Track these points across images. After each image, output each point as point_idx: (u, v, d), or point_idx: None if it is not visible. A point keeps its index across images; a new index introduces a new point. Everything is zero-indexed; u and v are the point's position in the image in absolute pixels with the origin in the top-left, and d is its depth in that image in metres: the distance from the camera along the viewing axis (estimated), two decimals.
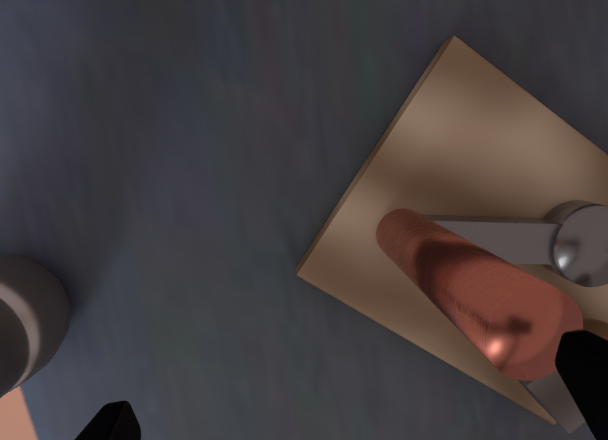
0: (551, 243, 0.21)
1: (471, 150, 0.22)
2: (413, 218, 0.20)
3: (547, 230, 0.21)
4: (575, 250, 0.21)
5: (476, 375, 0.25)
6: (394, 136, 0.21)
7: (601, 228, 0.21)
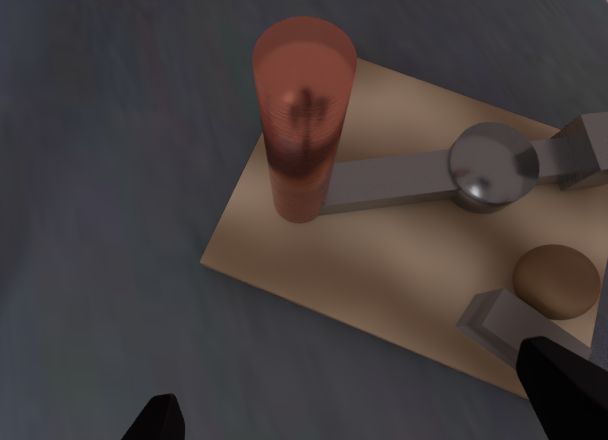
0: (447, 168, 0.21)
1: (349, 118, 0.24)
2: None
3: (437, 156, 0.21)
4: (472, 167, 0.20)
5: (440, 356, 0.20)
6: None
7: (489, 142, 0.21)
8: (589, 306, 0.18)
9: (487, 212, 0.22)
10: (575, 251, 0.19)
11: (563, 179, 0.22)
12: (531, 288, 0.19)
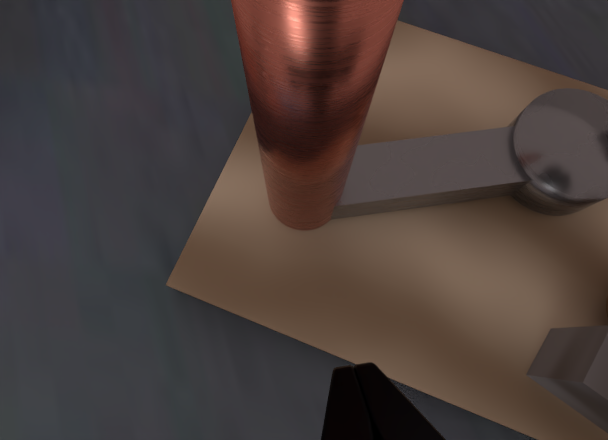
0: (510, 152, 0.15)
1: None
2: None
3: (496, 136, 0.15)
4: (547, 149, 0.14)
5: (507, 419, 0.14)
6: None
7: (568, 115, 0.15)
8: None
9: (563, 213, 0.16)
10: None
11: None
12: None
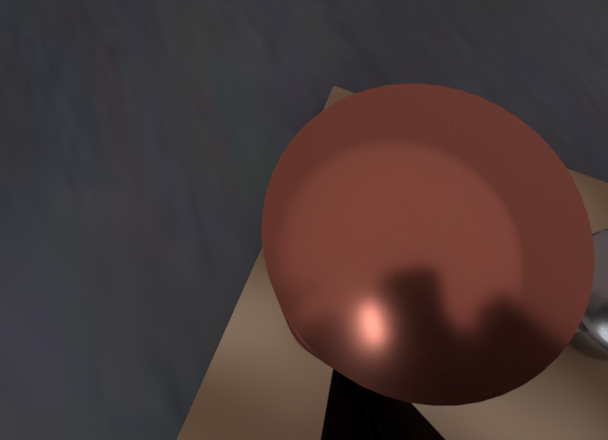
0: None
1: None
2: None
3: None
4: None
5: None
6: None
7: None
8: None
9: None
10: None
11: None
12: None
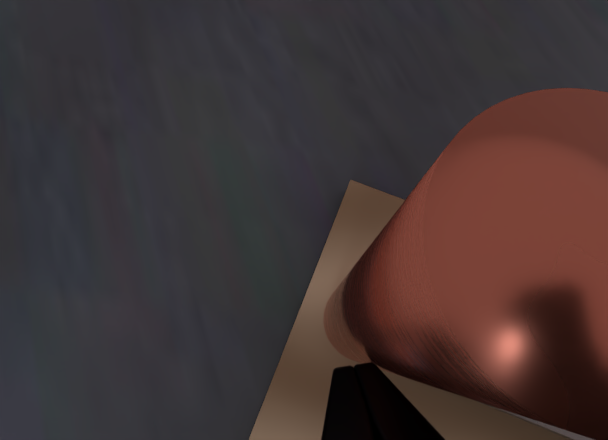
0: None
1: None
2: None
3: None
4: None
5: None
6: (304, 323, 0.14)
7: None
8: None
9: None
10: None
11: None
12: None
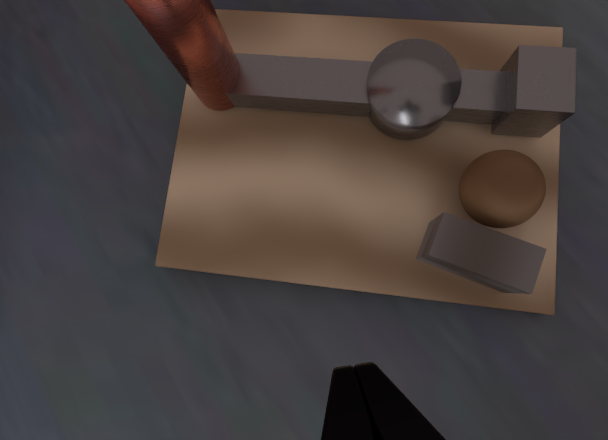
0: (363, 80, 0.20)
1: None
2: None
3: (357, 66, 0.20)
4: (386, 82, 0.19)
5: (407, 292, 0.20)
6: (188, 102, 0.23)
7: (414, 60, 0.19)
8: (536, 205, 0.17)
9: (400, 137, 0.21)
10: (511, 153, 0.18)
11: (494, 120, 0.20)
12: (474, 203, 0.18)
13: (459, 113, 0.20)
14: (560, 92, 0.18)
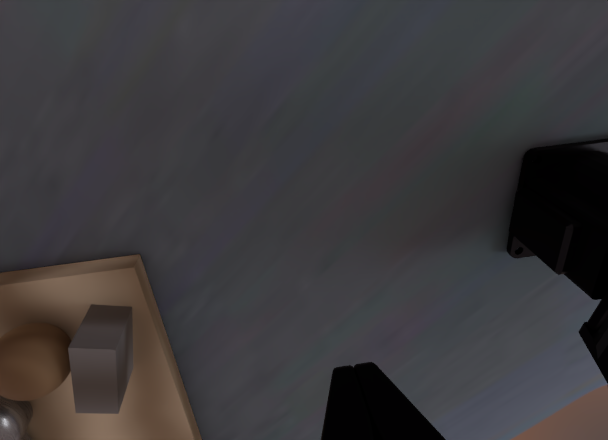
0: None
1: None
2: None
3: None
4: None
5: (164, 365, 0.23)
6: None
7: None
8: (31, 358, 0.18)
9: (29, 409, 0.23)
10: None
11: None
12: (56, 388, 0.20)
13: None
14: None
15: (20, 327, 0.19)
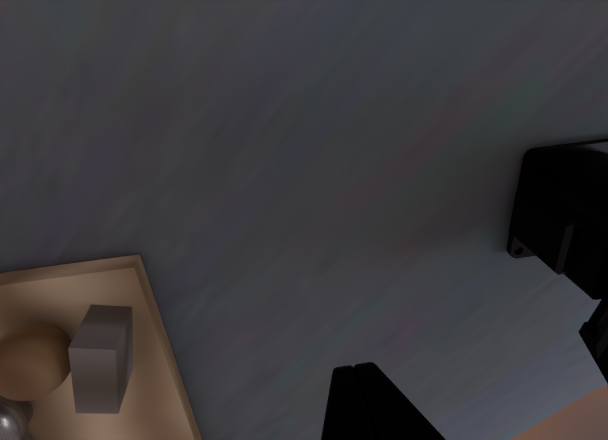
0: None
1: None
2: None
3: None
4: None
5: (164, 365, 0.23)
6: None
7: None
8: (31, 359, 0.18)
9: (29, 409, 0.23)
10: None
11: None
12: (56, 388, 0.20)
13: None
14: None
15: (20, 327, 0.19)
